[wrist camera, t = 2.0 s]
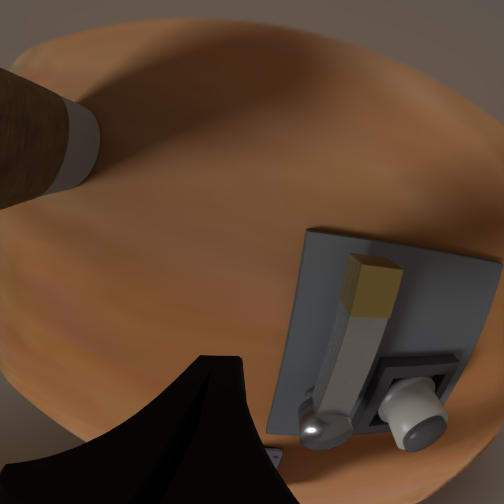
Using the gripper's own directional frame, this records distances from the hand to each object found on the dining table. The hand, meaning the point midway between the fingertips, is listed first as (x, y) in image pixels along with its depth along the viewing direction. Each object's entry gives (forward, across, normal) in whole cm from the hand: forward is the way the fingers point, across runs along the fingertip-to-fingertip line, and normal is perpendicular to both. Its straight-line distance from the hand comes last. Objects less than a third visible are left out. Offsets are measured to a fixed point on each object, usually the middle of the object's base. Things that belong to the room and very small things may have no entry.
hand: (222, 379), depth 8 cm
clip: (+6, -5, +4) cm, 9 cm away
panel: (+8, -10, +6) cm, 14 cm away
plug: (+8, -12, +9) cm, 17 cm away
